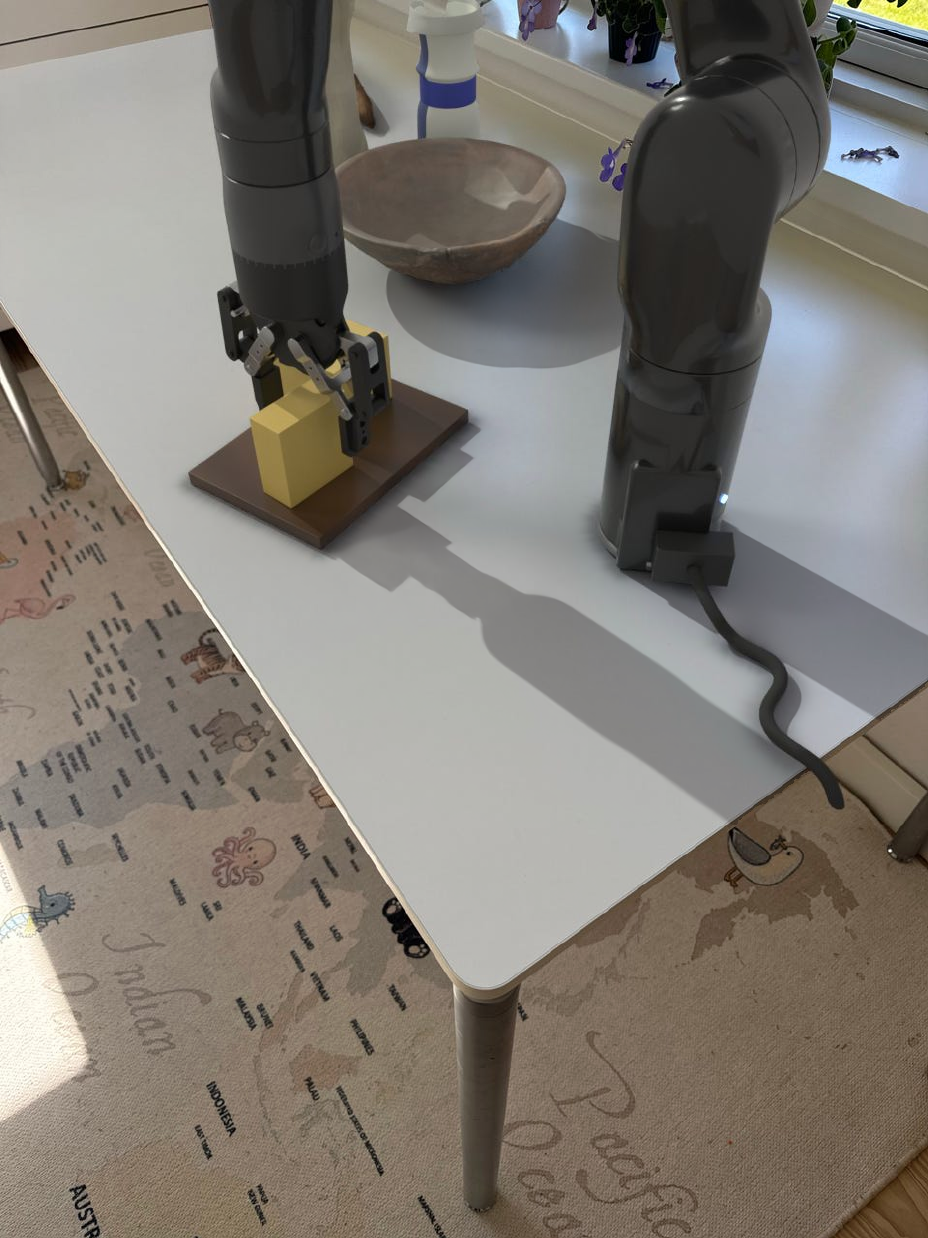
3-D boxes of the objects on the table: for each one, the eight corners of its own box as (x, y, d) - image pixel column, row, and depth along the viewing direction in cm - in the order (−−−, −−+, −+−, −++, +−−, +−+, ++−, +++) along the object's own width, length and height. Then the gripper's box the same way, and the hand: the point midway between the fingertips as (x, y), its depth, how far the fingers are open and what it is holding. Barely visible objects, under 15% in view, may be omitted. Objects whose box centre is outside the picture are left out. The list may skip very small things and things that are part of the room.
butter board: (345, 369, 94) (344, 358, 93) (468, 420, 88) (468, 409, 87) (190, 483, 82) (187, 472, 82) (321, 550, 77) (319, 538, 76)
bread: (269, 44, 153) (264, 7, 149) (300, 40, 154) (296, 3, 151) (356, 137, 129) (353, 96, 126) (392, 130, 131) (390, 89, 127)
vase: (351, 168, 123) (326, -132, 101) (385, 194, 118) (367, -115, 96) (288, 185, 120) (247, -121, 98) (320, 213, 115) (286, -103, 93)
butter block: (331, 371, 91) (324, 309, 87) (392, 397, 89) (388, 334, 84) (279, 408, 87) (269, 346, 83) (341, 436, 85) (334, 373, 80)
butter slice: (325, 449, 84) (316, 375, 78) (353, 465, 82) (345, 390, 77) (263, 492, 80) (248, 417, 75) (291, 508, 78) (278, 433, 73)
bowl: (496, 193, 118) (498, 117, 112) (605, 292, 103) (614, 210, 97) (295, 237, 111) (284, 158, 105) (379, 350, 96) (373, 266, 90)
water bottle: (401, 180, 121) (389, -65, 102) (466, 168, 123) (466, -74, 105) (426, 209, 116) (418, -44, 97) (494, 195, 118) (499, -54, 100)
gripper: (406, 240, 66) (414, 440, 78) (248, 182, 71) (278, 377, 83) (330, 288, 62) (351, 491, 74) (169, 223, 67) (213, 421, 79)
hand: (312, 430), depth 78 cm, fingers open, 8 cm apart
